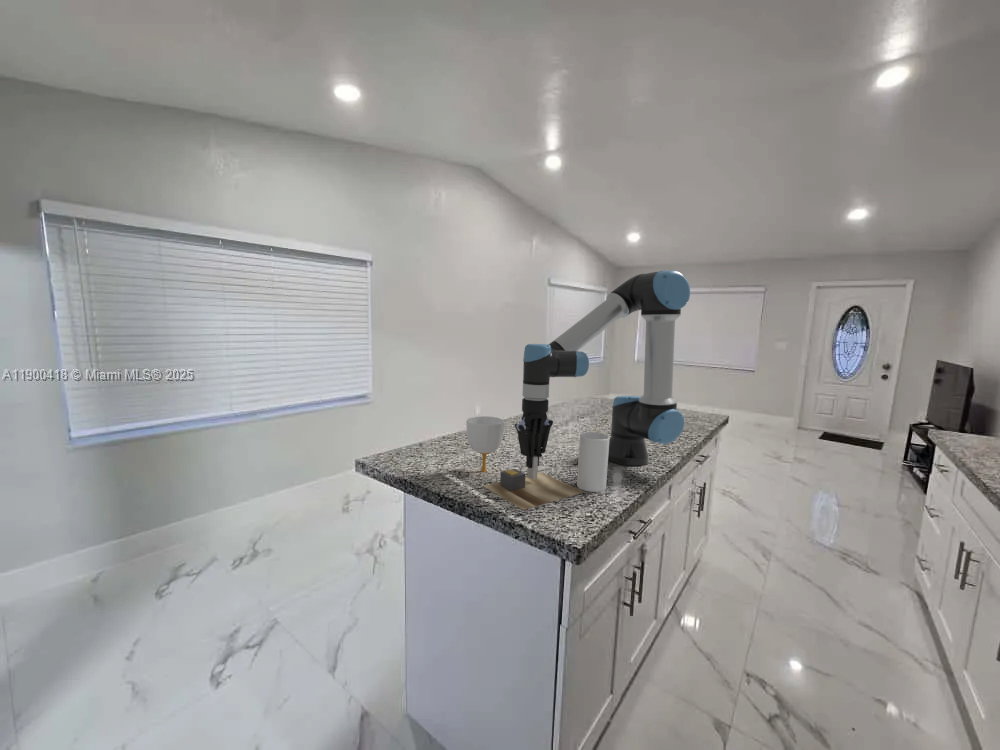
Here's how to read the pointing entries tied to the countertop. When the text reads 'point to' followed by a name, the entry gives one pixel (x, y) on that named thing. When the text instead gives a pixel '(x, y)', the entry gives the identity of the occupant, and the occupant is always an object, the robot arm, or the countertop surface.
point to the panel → (535, 491)
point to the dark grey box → (512, 479)
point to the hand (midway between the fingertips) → (532, 477)
